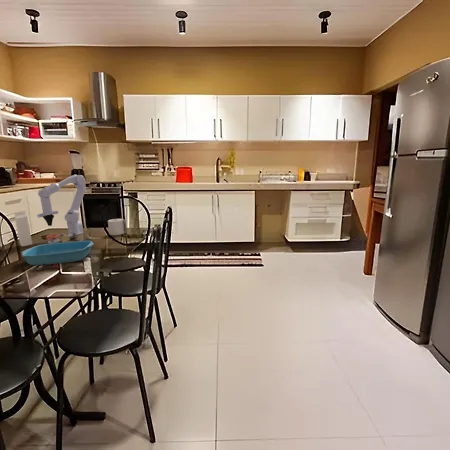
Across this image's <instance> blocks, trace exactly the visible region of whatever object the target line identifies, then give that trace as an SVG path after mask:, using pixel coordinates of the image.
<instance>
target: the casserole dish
mask: <svg viewBox="0 0 450 450" xmlns="http://www.w3.org/2000/svg"><path fill="white" fill-rule="evenodd" d="M93 246H94V242H93V241H92V240H79V241H78V240H77V241H76V240H75V241H66V242H63V243H52V244H48V243H45V244H44V243H43V244H39V245H36V246H33V247H30V248H28V249H27V248H26V249H25V250H23V251H21V254H22V255H21V256H22V257H23V259H24V260H25V262H26V263H27V264H28V265H31V266H43V264H45V265H54V264H65V263H74V262H79V261H82V260H83V259H85V258H86V257H87V256H88V255H89V254H90V252H91V250H92V249H91V248H92V247H93Z"/></svg>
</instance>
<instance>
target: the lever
mask: <svg viewBox="0 0 450 450" xmlns="http://www.w3.org/2000/svg"><path fill="white" fill-rule="evenodd" d="M64 235H65V233H63V232H62V233H59V234H56V235H54V234H52V233H51V234H48V235H46V240H47V241H48V240H49V239H56V237H59V236H64Z"/></svg>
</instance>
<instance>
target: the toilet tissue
mask: <svg viewBox="0 0 450 450" xmlns="http://www.w3.org/2000/svg"><path fill="white" fill-rule="evenodd" d="M126 223H127V222H126V219H124V218H112V219H109V220H107V224H108V232H109V233H108V234H109V235H110V236H119V235H123V234H125V233H128V231H127V224H126Z"/></svg>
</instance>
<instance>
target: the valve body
mask: <svg viewBox="0 0 450 450" xmlns="http://www.w3.org/2000/svg"><path fill="white" fill-rule="evenodd" d="M77 238H78V235H76V233H73V232H71V234H70V235H66V234H64V236H59V237H56V238H53V239H49V240H47V244H52V243H63V242H71V241H70V240H72V239H77Z"/></svg>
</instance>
